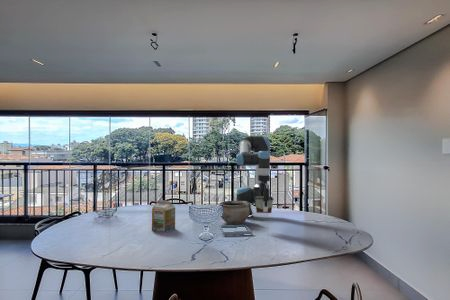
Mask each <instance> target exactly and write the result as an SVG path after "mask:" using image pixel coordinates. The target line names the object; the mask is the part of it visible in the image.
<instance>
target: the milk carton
mask: <svg viewBox="0 0 450 300" xmlns="http://www.w3.org/2000/svg"><path fill="white" fill-rule="evenodd" d="M173 229H174V230H176V206H175V205H173V204H172V203H171V201H170V200H161V199H157V202H156V203H155V204H154V205H153V206H152V208H151V231H152V232H156V233H157V232H158V233H163V232H164V234H165V232H166V233H168V232H170V230H171V231H174V230H173ZM167 231H168V232H167Z"/></svg>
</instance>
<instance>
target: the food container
mask: <svg viewBox="0 0 450 300" xmlns="http://www.w3.org/2000/svg"><path fill="white" fill-rule="evenodd" d="M254 200H255V202H256V203H255V211H256V212H255V213H258V214H272V209H273V202H274V197H273V196H271V195H270V196H269V201H268V212H263V200H264V197H263V196H256V197H255V199H254Z"/></svg>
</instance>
